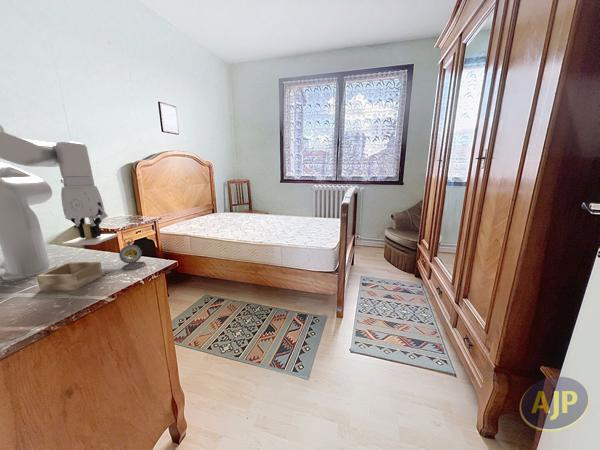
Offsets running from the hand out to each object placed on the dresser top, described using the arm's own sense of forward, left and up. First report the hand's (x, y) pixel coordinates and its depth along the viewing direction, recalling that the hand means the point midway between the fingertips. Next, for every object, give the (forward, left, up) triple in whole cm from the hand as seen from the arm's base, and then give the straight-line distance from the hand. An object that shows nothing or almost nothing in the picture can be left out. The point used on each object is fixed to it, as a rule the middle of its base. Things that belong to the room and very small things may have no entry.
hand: (91, 236), depth 84 cm
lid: (0, 0, -1) cm, 1 cm away
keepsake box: (+2, -12, -12) cm, 17 cm away
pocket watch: (+12, +1, -12) cm, 17 cm away
